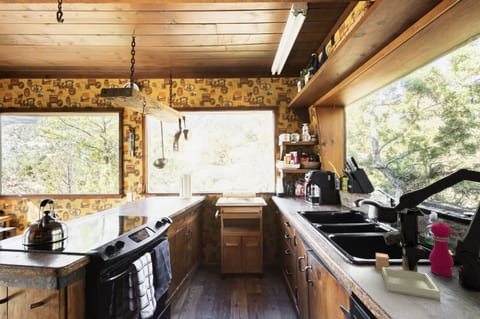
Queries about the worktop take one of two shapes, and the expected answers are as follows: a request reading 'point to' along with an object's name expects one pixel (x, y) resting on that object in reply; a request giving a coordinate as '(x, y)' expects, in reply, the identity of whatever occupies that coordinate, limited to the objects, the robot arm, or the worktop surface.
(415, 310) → the worktop surface
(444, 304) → the worktop surface
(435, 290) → the tray
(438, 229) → the pepper mill
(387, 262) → the peach block
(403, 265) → the walnut block
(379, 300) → the worktop surface
